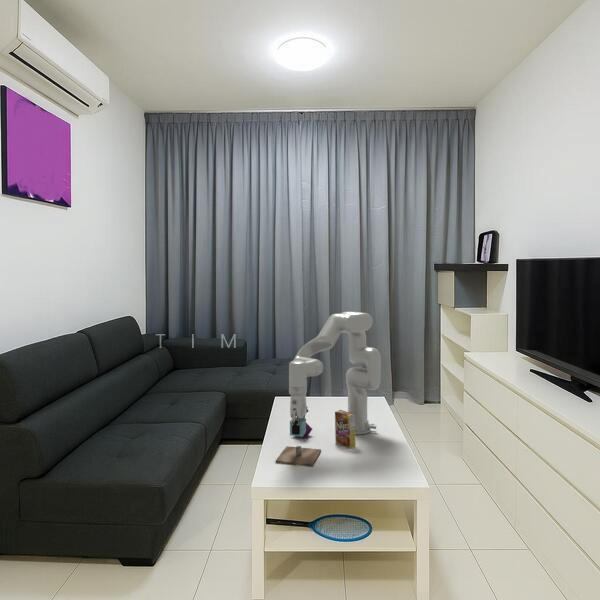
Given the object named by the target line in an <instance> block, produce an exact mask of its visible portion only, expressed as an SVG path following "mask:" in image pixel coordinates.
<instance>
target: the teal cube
mask: <svg viewBox="0 0 600 600" xmlns="http://www.w3.org/2000/svg"><path fill="white" fill-rule="evenodd" d="M296 420H297V419H296ZM306 423H307V419H306V417H305V418H301V419H300V418H299V425H300V434H299V435H296V434H292V419H290V420H289V436H292V437H296V436H301V437H303V436H304V434H305V433H306Z"/></svg>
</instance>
